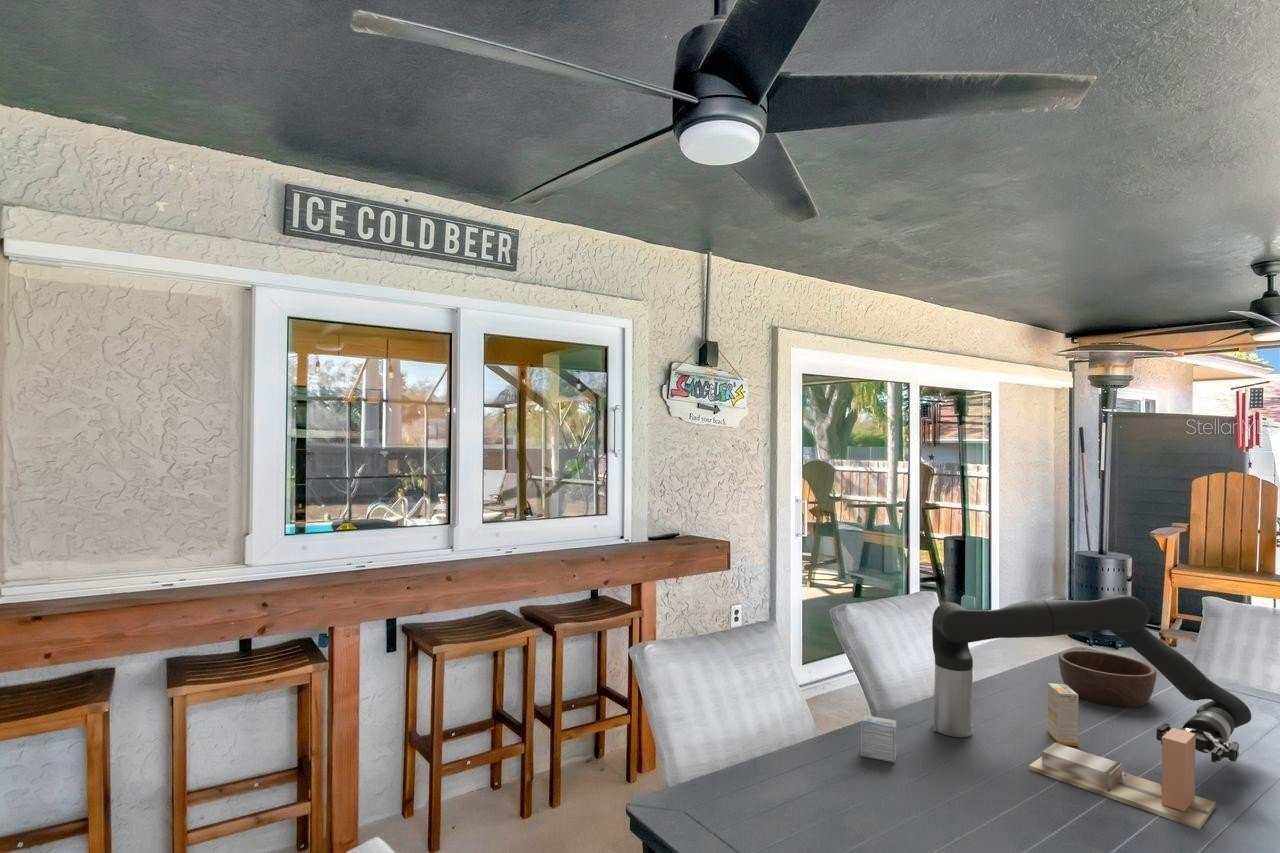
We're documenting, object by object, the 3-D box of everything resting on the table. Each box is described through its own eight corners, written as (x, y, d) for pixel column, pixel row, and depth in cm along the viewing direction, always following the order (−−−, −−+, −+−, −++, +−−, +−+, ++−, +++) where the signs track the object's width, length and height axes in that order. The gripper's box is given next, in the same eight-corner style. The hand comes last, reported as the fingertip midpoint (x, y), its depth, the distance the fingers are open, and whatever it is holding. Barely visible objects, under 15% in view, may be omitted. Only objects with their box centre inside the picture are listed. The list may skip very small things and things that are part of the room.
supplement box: (1079, 746, 179) (1079, 694, 179) (1058, 744, 180) (1058, 693, 180) (1066, 733, 187) (1067, 683, 187) (1046, 731, 188) (1047, 682, 188)
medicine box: (896, 756, 172) (897, 720, 172) (895, 763, 168) (895, 727, 168) (862, 749, 175) (863, 714, 175) (860, 756, 171) (861, 720, 171)
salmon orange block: (1161, 803, 149) (1162, 737, 149) (1171, 792, 154) (1172, 727, 154) (1184, 811, 146) (1185, 743, 146) (1194, 799, 151) (1195, 733, 151)
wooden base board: (1029, 769, 166) (1029, 751, 166) (1052, 753, 175) (1052, 736, 175) (1199, 829, 141) (1199, 808, 141) (1215, 806, 150) (1216, 787, 151)
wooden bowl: (1044, 679, 230) (1044, 647, 230) (1127, 684, 226) (1128, 652, 227) (1081, 708, 205) (1081, 673, 205) (1175, 715, 202) (1175, 678, 202)
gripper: (1170, 705, 170) (1149, 722, 160) (1246, 725, 160) (1230, 744, 149) (1169, 737, 170) (1149, 756, 160) (1246, 758, 159) (1230, 780, 149)
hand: (1188, 750), depth 155 cm, fingers open, 8 cm apart
